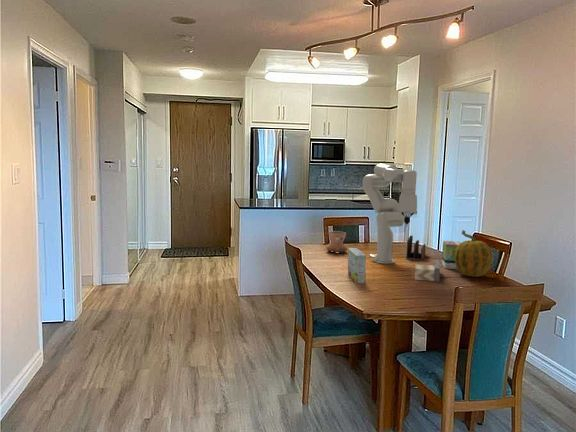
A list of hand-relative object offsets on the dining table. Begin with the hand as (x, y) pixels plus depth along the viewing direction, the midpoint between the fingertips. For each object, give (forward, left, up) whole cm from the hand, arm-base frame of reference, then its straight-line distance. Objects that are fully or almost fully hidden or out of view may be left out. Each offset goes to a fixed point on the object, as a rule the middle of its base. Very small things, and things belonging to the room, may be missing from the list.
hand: (406, 223), depth 272 cm
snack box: (-24, -30, -28) cm, 47 cm away
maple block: (+11, -15, -28) cm, 33 cm away
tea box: (+26, +20, -28) cm, 43 cm away
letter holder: (+5, +42, -28) cm, 51 cm away
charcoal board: (+17, -11, -27) cm, 34 cm away
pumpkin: (+36, -2, -27) cm, 45 cm away
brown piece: (-49, +43, -27) cm, 71 cm away
